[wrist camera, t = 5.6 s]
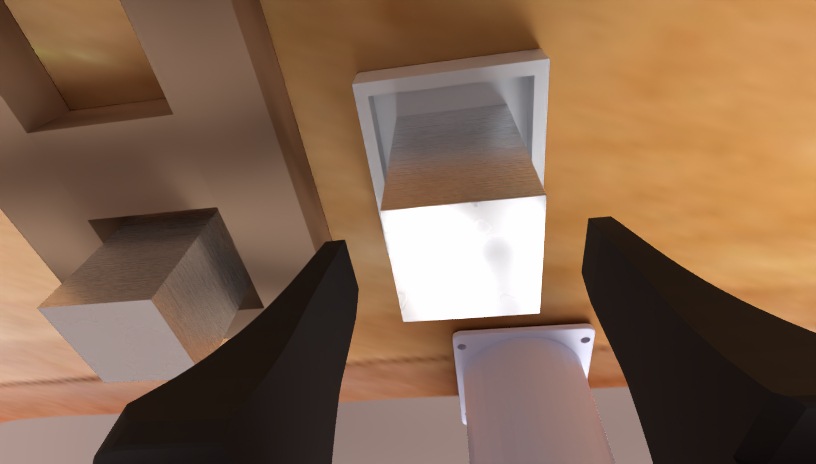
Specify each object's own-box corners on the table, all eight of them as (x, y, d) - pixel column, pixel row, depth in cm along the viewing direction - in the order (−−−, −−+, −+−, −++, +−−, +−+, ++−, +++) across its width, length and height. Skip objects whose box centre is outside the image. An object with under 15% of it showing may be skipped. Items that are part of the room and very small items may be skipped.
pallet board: (349, 298, 24) (342, 330, 22) (136, 313, 25) (112, 345, 23) (200, -195, 12) (157, -217, 10) (-172, -114, 14) (-269, -121, 12)
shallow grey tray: (533, 223, 20) (540, 242, 19) (390, 236, 21) (387, 255, 20) (540, 48, 16) (550, 58, 15) (357, 72, 17) (351, 84, 15)
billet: (507, 198, 19) (539, 313, 14) (411, 207, 20) (403, 322, 14) (507, 103, 17) (546, 195, 11) (396, 116, 17) (380, 211, 12)
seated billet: (260, 265, 23) (203, 377, 17) (183, 271, 23) (104, 382, 18) (228, 195, 20) (150, 299, 15) (144, 203, 21) (36, 308, 15)
